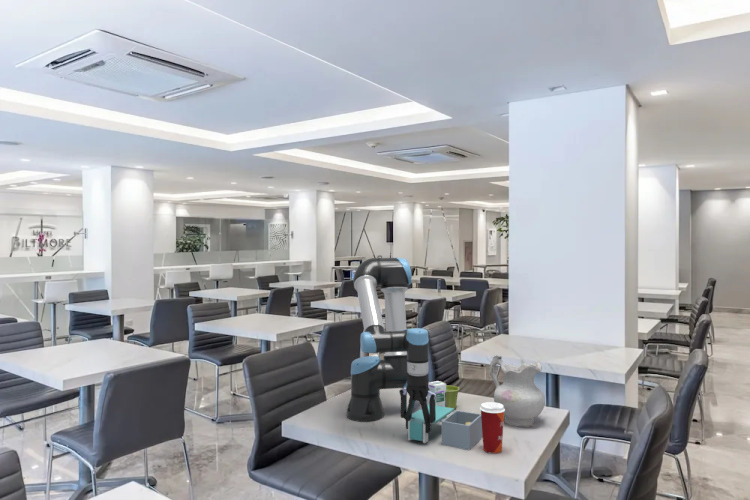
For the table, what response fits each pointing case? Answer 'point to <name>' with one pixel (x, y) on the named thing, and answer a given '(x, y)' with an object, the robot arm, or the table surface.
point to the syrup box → (438, 394)
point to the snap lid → (418, 421)
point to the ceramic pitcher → (518, 392)
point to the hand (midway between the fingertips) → (418, 440)
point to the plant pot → (451, 396)
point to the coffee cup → (492, 426)
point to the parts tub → (462, 429)
